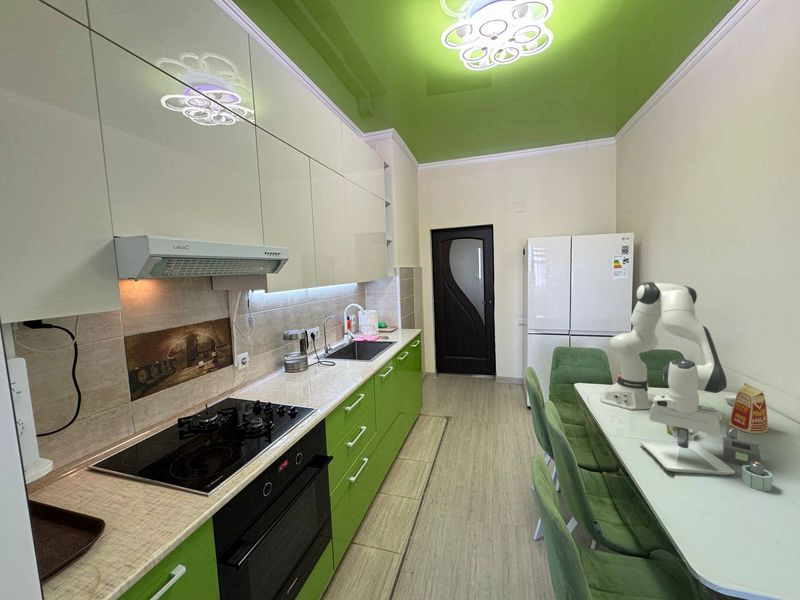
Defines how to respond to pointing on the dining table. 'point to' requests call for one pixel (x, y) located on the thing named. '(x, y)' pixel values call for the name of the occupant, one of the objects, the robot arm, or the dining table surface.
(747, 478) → the cup
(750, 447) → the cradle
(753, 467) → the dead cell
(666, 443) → the salad plate
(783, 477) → the dining table surface
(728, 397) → the spoon rest
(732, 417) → the milk carton
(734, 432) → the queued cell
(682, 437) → the cell
